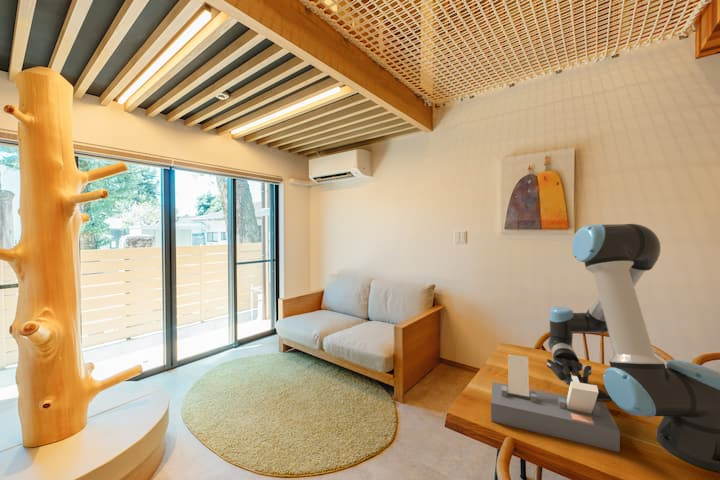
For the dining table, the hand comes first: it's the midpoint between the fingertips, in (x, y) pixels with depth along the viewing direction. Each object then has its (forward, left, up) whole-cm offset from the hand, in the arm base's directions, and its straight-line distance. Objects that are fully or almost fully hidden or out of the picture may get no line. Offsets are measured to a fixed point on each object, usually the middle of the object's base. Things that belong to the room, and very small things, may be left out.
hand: (578, 390), depth 88 cm
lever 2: (+1, -2, -7) cm, 7 cm away
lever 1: (+15, +6, -7) cm, 17 cm away
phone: (+8, -29, -14) cm, 33 cm away
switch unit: (+8, +2, -13) cm, 15 cm away
